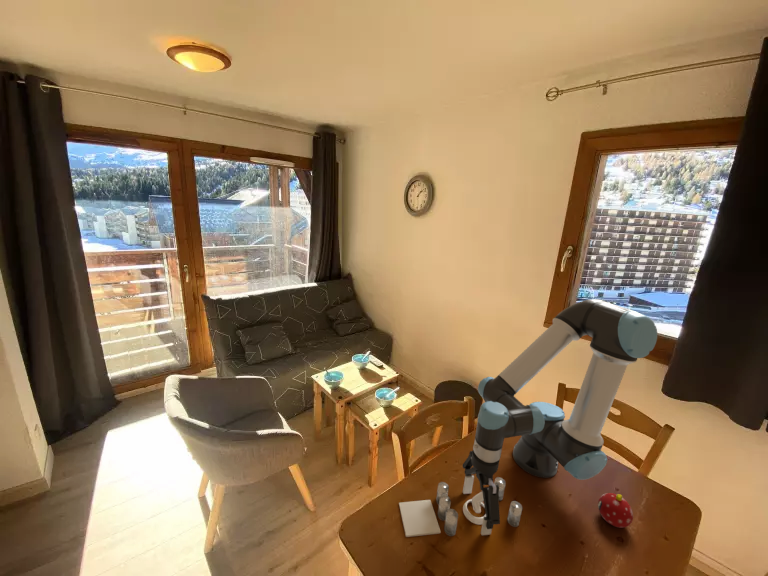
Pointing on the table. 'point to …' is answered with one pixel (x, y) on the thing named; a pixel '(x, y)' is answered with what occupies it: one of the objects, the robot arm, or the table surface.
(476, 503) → the hook
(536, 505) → the table surface
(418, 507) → the felt pad
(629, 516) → the christmas ornament
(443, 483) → the cylinder
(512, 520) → the cylinder
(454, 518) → the cylinder
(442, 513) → the spacer
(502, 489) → the cylinder
